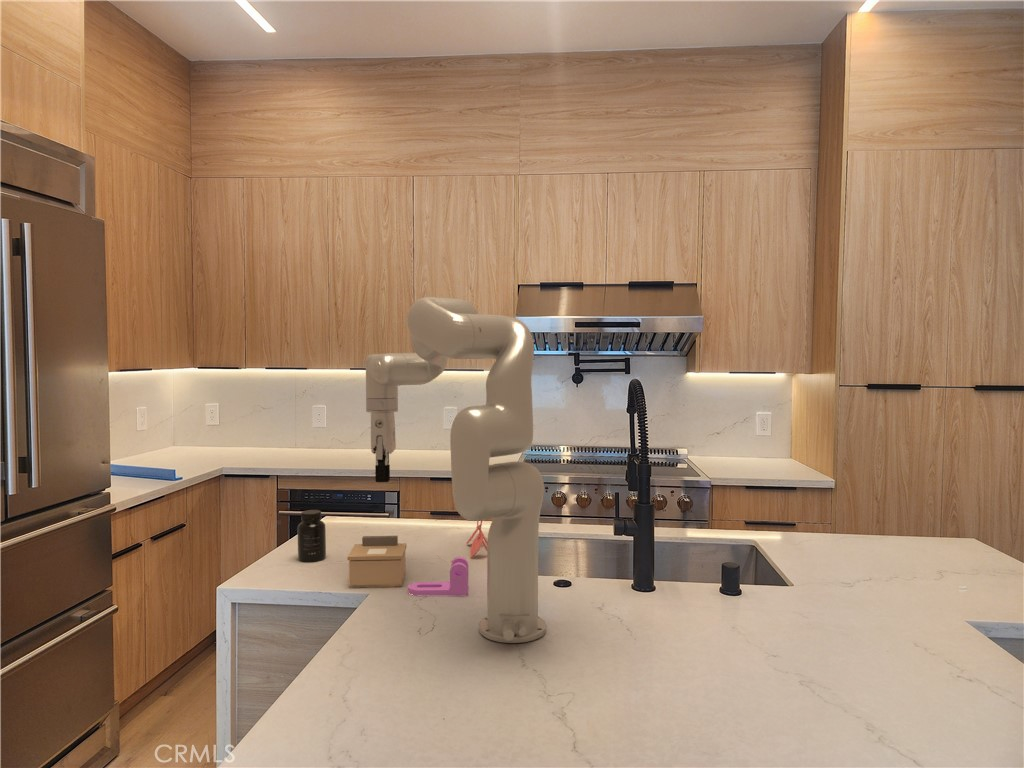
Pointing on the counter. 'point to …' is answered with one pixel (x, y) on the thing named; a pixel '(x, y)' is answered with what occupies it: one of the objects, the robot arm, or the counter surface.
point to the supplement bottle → (311, 537)
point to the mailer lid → (378, 548)
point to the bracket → (454, 587)
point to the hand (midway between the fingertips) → (382, 481)
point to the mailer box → (376, 573)
